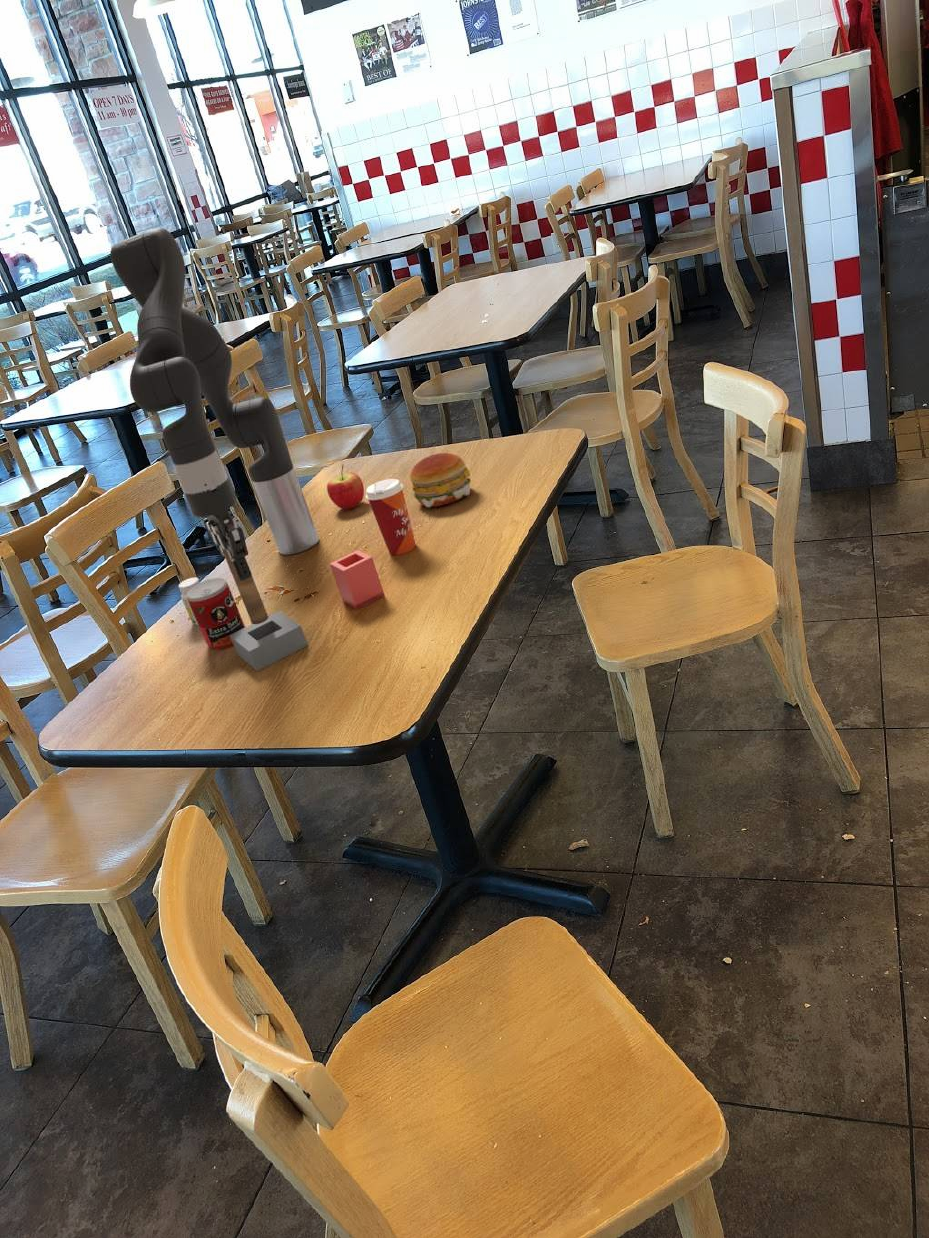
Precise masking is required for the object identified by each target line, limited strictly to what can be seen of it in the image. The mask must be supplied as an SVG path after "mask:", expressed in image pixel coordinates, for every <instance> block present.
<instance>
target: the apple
mask: <svg viewBox="0 0 929 1238" xmlns="http://www.w3.org/2000/svg"><path fill="white" fill-rule="evenodd" d="M343 470H344V464H341V471H343ZM326 485H327V486H326V489H327V490H326V491H327V494H328V496H329V499H330V500H331V501H332V502H333V503H334V505H335V506H336V507H338V508H340V509H342V510H350V509H355V507H358V505H360V504H361V503H362V502H363V500H364V496H365V495H364V494H365V488H364V487H365V486H364V484H363V480H362V478H361V477H360V476H359V475H358V473H355V472H346V473H341V474H338V475H337V476H335V477H333V478H332V479H330V481H329V482H328V483H327V484H326Z"/></svg>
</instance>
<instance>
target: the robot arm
mask: <svg viewBox="0 0 929 1238" xmlns="http://www.w3.org/2000/svg"><path fill="white" fill-rule="evenodd" d="M109 253H110V254H109V255H110V261H111V263H112V266H113V269H114V270H115V272H116V274H117V276H118V278H119V279H120V282H122V284H123V285H124V286H125V288H126V289H127V290H128V293H130V294H131V296H132V297H133V298H134V299H135V301H136V302H137V303H138V305H139V306H140V307H141V310H140V313H139V315H138V318H137V319H138V320H137V324H136V325H137V329H136V330H137V331H136V332H137V343H138V344H137V345H138V350H137V352H136V355H135V359H134V362H133V365H132V367H131V370H130V371H131V372H130V376H129V389H130V393H131V397H132V399H133V401H134V403H135V404H136V405H137V406H138V407H139V408H140V409H141V410H143V411H144V412H147V413H158V412H162V411H165V410H169V409H172V408H175V407H179V406H182V405H184V408H185V413H184V415H182V416H181V417H180V418H178V419H176V420H174V421H173V422H171V423H169V424H168V425H167V426H165V427H164V428H163V430H162V438H163V441H164V443H165V446H166V449H167V451H168V454H169V456H170V458H171V460H172V464H173V466H174V468H175V473H176V477H177V479H178V482H179V484H180V486H181V489H182V491H183V492H182V493H183V495H184V496H185V499H186V501H187V503H188V506H189V509H190V511H191V513H192V515H193V516H194V517H196V518H204V519H202V521H203V525H205V527H206V529H207V531H208V533H209V535H210V537H211V539H212V541H213V542H214V544H215V546H216V547H215V548H216V549H217V550H218V551H220V554H221V555H222V556H223V557H224V559H225V560H226V558H225V555H224V553H223V550H222V548H223V549H226V550H227V552H228V554H229V557H230V560H231V561H232V563H233V566H234V568H235V571H236V573H237V576H238V578H239V579H240V580H242V581H243V580H245V579H247V578H249V577H251V575H252V576H253V574H252V572H251V568H250V566H249V564H248V561H247V559H246V558H247V556H249V551H248V547H247V543H246V539H245V535H244V530H243V528H242V527H241V526H238V523H237V520H236V517H234V515H232V516H231V514H230V513H229V510H230V509H231V507H234V506H235V505H236V502H237V496H236V493H235V492H234V488H233V486H232V484H231V482H230V479H229V475H228V473H227V471H226V468H225V466H224V463H223V461H222V459H221V456H220V455H219V453H218V451H217V450H216V446H215V443H214V442H213V439H212V437H211V434H210V432H209V428H208V425H207V422H206V417H205V412H204V407H203V399H202V396H203V397H204V399H205V401H206V402H207V404H208V405H209V407H210V409H211V411H212V413H213V414H214V416H215V418H216V420H217V422H218V424H219V425H220V428H221V430H222V431H223V433H224V435H225V436H226V438H227V439H228V441H229V442H230V444H232V445H233V446H234V447H235V448H237V449H248V448H250V447H251V448H252V447H255V446H259V445H264V444H266V447H267V448H266V449H267V451H265V453H264V454H262V455H261V456H260V457H258V458H257V459H255V460H254V461H253V462H252V463H251V464H250V465H249V467H248V474H249V477H250V480H251V481H252V484H253V487H254V490H255V493H256V494H257V498H258V500H259V503H260V506H261V508H262V510H263V513H264V515H265V518H266V521H267V524H268V526H269V528H270V532H271V534H272V537H273V540H274V542H275V545H276V547H277V550H278V552H279V554H281V555H286V556H289V555H294V554H299V553H301V552H305V551H306V550H308V549H310V548H312V547H314V546H315V545H316V544H317V543H318V542H319V540H320V538H319V534H318V532H317V528H316V527H315V524H314V521H313V518H312V515H311V512H310V510H309V506H308V504H307V501H306V499H305V496H304V492H303V490H302V487H301V485H300V482H299V479H298V476H297V474H296V471H295V468H294V465H293V462H292V458H291V454H290V451H289V448H288V444H287V442H286V439H285V435H284V433H283V430H282V426H281V422H280V419H279V416H278V413H277V410H276V407H275V405H274V404H273V402H272V400H270V399H269V398H267V397H266V396H261V397H256V398H252V399H249V400H245V401H241V402H237V403H235V402H233V401H232V400H231V399H230V397H229V394H228V393H229V382H230V379H231V378H230V377H231V372H232V365H233V360H232V358H233V357H232V353H231V350H230V349H229V347H228V345H227V344H226V342H225V340H224V338H223V337H222V335H221V334H220V332H219V331H218V329H217V327H216V326H215V325H214V324H213V323H212V322H211V321H209V320H207V318H204V317H203V316H202V315H199V314H198V313H195V312H192V311H191V310H189V309H187V308H184V307H183V302H184V294H185V282H186V266H185V265H186V264H185V258H184V257H183V253H182V250H181V248H180V246H179V244H178V242H177V241H176V239H175V238H174V236H173V234H171V232H170V231H169V230H167V229H165V228H163V227H155V228H152V229H149V230H146V231H144V232H141V233H139V234H136V235H133V236H131V237H128V238H126V239H123V240H120V241H118V242H117V243H115V244H114V245H112V247H111V249H110V252H109ZM227 541H228V543H227V544H226V543H225V542H227ZM221 546H222V548H221ZM237 549H239V551H237V552H236V550H237ZM226 562H227V560H226ZM227 566H228V567H229V565H228V564H227ZM229 571H230V572H231V570H230V569H229Z"/></svg>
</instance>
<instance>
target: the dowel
mask: <svg viewBox="0 0 929 1238" xmlns="http://www.w3.org/2000/svg"><path fill="white" fill-rule="evenodd" d="M225 543H226V544H227V543H228V541H227V542H225ZM221 548H222V546H221ZM222 550H223V553H224V555H225V556H224V559H225V558H226V559H225V560H227V561H226V563H227V566H228V565H229V566H228V568H229V571H230V570H231V571H230V573H231V575H232V577H233V580H234V583H235V584H236V588H237V589H238V592H239V594H240V597H241V599H242V601H243V602H242V603H243V604H244V607H245V609H246V612H247V615H248V617H249V620H250V622H251V624H260V623H263V622H264V621H266V620H267V619H268V616H269V615H268V613H267V609H266V607H265V605H264V602H263V600H262V598H261V595H260V593H259V590H258V587H257V585H256V582H255V580H254V577H253V574H252V575H251V577H249V578H247V579H245V580H243V581H242V580H240V579H239V578H238V576H237V573H236V571H235V568H234V566H233V563H232V561H231V560H230V557H229V554H228V552H227V550H226V549H223V548H222ZM237 551H239V549H237V550H236V552H237Z"/></svg>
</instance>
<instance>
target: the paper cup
mask: <svg viewBox="0 0 929 1238" xmlns="http://www.w3.org/2000/svg"><path fill="white" fill-rule="evenodd" d="M403 488H404V485H403V484H402V483H401V482H400V480H399V479H398V478H389V479H383V480H380V481H377V482H375V483H372V484H371V485H369V486H368V487H366V490H365V491H366V493H365V494H366V495H365V499H366V500H368V503H369V505H370V507H371V510H372V512H373V515H374V518H375V520H376V523H377V526H378V528H379V530H380V533H381V536H382V537H383V540H384V543H385V545H386V548H387V550H388V553H389V554H390V555H392V556H399V555H400V556H401V555H404V554H407V553H409V552H411V551H413V550H414V549H415V548H416V540H415V536H414V532H413V531H414V530H413V528H412V523H411V519H410V515H409V512H408V507H407V503H406V498H405V494H404V491H403Z"/></svg>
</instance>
